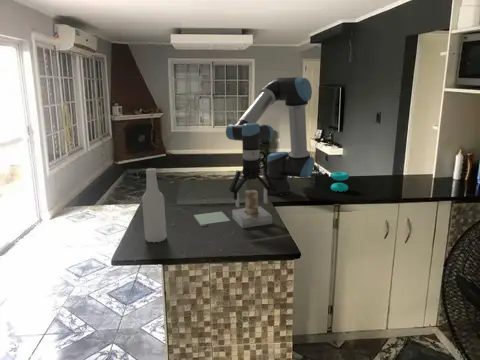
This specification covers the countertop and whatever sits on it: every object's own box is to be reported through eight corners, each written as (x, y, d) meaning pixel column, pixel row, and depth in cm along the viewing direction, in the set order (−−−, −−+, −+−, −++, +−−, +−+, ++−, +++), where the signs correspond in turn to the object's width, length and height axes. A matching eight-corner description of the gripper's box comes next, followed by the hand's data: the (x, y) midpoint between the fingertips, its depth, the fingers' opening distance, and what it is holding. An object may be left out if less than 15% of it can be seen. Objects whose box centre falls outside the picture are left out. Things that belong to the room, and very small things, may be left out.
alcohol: (168, 234, 173) (163, 166, 166) (165, 242, 164) (160, 171, 157) (147, 235, 173) (141, 166, 165) (143, 243, 164) (137, 171, 157)
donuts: (329, 171, 238) (346, 171, 238) (329, 187, 241) (345, 187, 241) (333, 175, 229) (350, 175, 228) (332, 192, 231) (350, 192, 231)
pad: (221, 213, 199) (221, 211, 199) (230, 222, 186) (230, 220, 186) (193, 217, 194) (193, 215, 194) (200, 226, 182) (200, 224, 181)
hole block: (260, 216, 194) (260, 206, 193) (272, 225, 181) (272, 215, 180) (232, 219, 189) (232, 209, 188) (242, 230, 177) (242, 219, 175)
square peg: (254, 218, 188) (254, 189, 184) (258, 221, 184) (257, 192, 180) (245, 219, 186) (245, 190, 183) (249, 222, 182) (248, 193, 179)
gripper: (226, 162, 170) (227, 210, 176) (280, 157, 178) (280, 203, 184) (221, 159, 177) (222, 205, 183) (273, 155, 185) (273, 199, 190)
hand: (251, 204), depth 183 cm, fingers open, 13 cm apart
